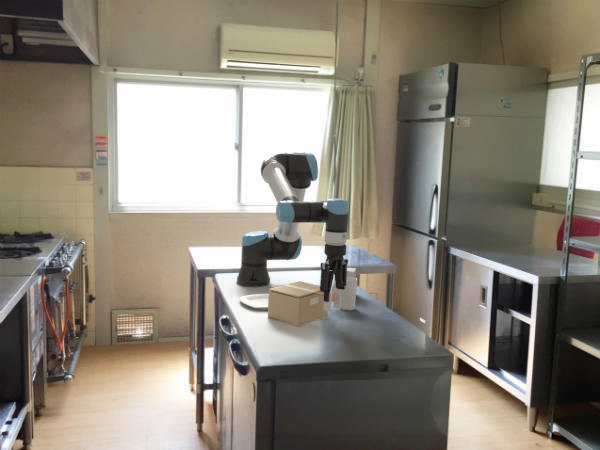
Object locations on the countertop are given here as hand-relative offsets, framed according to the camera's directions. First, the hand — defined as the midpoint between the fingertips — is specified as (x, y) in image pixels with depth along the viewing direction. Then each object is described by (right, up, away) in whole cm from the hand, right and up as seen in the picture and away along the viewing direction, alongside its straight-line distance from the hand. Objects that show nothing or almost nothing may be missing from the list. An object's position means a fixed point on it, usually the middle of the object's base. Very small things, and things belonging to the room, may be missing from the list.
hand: (332, 308), depth 199 cm
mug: (+6, -4, +24) cm, 25 cm away
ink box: (+8, -1, +44) cm, 45 cm away
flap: (-8, +4, +6) cm, 11 cm away
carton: (-12, -5, +10) cm, 16 cm away
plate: (-25, -3, +26) cm, 36 cm away
